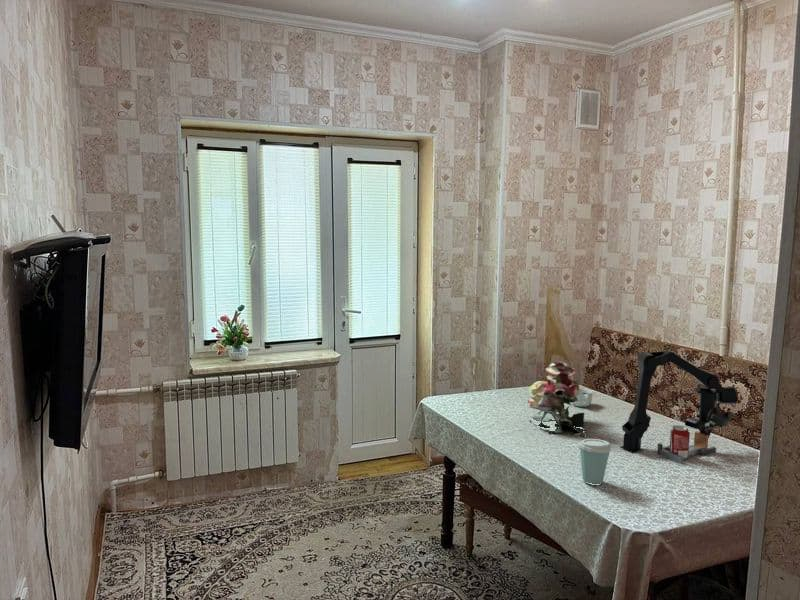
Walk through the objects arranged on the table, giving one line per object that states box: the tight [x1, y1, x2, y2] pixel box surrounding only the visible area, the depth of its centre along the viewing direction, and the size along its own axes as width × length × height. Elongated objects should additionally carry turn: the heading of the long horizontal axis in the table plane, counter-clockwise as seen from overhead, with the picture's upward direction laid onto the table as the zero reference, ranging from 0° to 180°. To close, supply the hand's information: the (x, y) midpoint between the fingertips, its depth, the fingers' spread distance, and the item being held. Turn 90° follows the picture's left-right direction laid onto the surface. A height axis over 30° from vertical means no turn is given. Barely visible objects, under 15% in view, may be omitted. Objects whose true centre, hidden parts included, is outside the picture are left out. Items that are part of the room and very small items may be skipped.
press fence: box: [657, 443, 684, 464], centre depth 228 cm, size 12×11×4 cm
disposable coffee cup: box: [579, 438, 612, 484], centre depth 203 cm, size 11×11×15 cm
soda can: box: [669, 424, 691, 461], centre depth 226 cm, size 7×7×12 cm
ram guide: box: [689, 444, 717, 456], centre depth 233 cm, size 8×6×2 cm
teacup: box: [571, 387, 594, 408], centre depth 293 cm, size 14×11×8 cm
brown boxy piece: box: [688, 431, 709, 457], centre depth 230 cm, size 10×5×7 cm, turn 116°
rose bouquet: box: [527, 361, 587, 437], centre depth 262 cm, size 26×29×30 cm
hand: (705, 441), depth 233 cm, fingers closed
